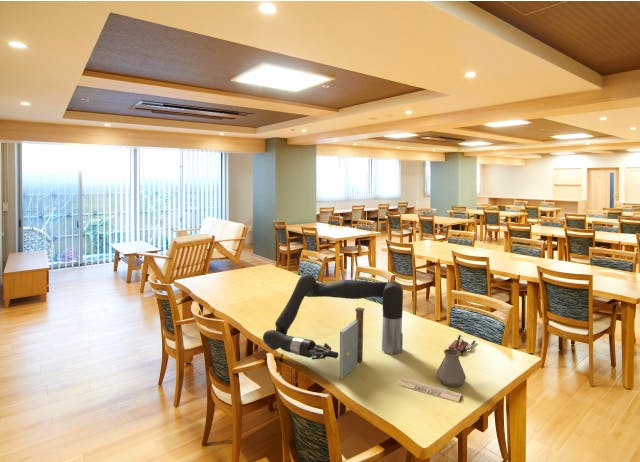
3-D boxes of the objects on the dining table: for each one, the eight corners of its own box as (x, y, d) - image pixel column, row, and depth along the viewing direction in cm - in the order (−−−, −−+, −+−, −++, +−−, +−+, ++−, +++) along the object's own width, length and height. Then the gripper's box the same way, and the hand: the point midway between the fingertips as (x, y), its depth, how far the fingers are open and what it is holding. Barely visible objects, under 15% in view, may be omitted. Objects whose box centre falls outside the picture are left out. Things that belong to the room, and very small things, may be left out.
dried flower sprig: (465, 358, 183) (476, 344, 199) (465, 349, 182) (477, 335, 198) (446, 353, 188) (459, 339, 204) (447, 344, 187) (459, 331, 203)
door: (354, 362, 176) (355, 319, 173) (361, 364, 174) (362, 320, 172) (339, 377, 162) (339, 331, 160) (346, 379, 161) (347, 333, 158)
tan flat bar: (461, 396, 151) (462, 392, 150) (457, 405, 145) (458, 401, 144) (403, 380, 163) (403, 376, 163) (397, 388, 157) (397, 384, 157)
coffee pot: (462, 392, 153) (464, 355, 151) (432, 384, 158) (434, 349, 157) (472, 369, 171) (474, 337, 169) (445, 363, 177) (447, 331, 175)
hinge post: (357, 359, 180) (358, 307, 177) (363, 361, 178) (364, 308, 175) (354, 362, 177) (355, 309, 174) (360, 363, 176) (361, 310, 173)
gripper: (294, 344, 168) (330, 353, 160) (310, 334, 180) (344, 341, 171) (294, 361, 169) (330, 370, 161) (310, 349, 181) (344, 357, 172)
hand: (337, 355), depth 166 cm, fingers closed
